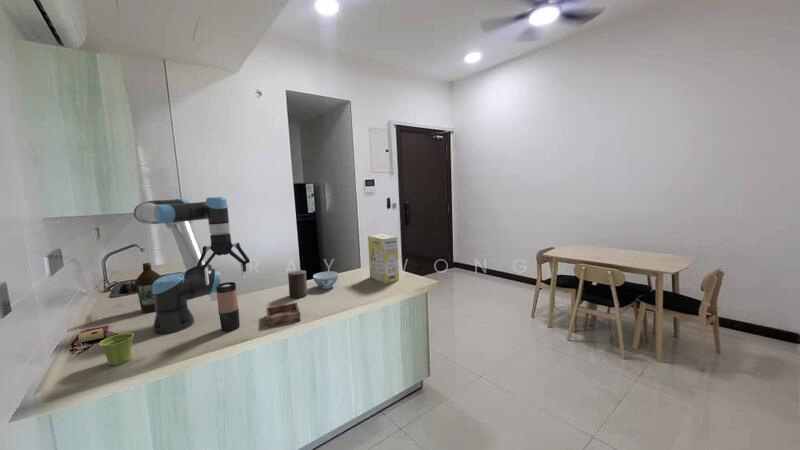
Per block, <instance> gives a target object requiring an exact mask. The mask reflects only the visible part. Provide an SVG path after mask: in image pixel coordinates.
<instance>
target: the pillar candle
mask: <svg viewBox="0 0 800 450" xmlns="http://www.w3.org/2000/svg"><path fill="white" fill-rule="evenodd" d="M287 274H288V275H287V278H288V279H287V281H288V293H289V298H290V299H295V300H296V299H301V298H305V297H307V296H308V287H307V286H308V284H307V271H306V270H303V269H302V270H299V269H297V270H292V271H289V272H288V273H287Z"/></svg>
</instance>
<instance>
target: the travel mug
mask: <svg viewBox="0 0 800 450" xmlns="http://www.w3.org/2000/svg"><path fill="white" fill-rule="evenodd" d="M216 290H217V292H216V297H217V298H216V299H217V309H218V315H219V323H220V329H221V332H224V333H230V332H234V331H236V330H238V329H239V328H240V311H239V301H238V294H237V293H238V292H237V284H236V282H234V281H233V282H232V281H228V282H221V284H219V285H218V286H217V287H216Z"/></svg>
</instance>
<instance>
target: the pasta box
mask: <svg viewBox="0 0 800 450" xmlns="http://www.w3.org/2000/svg"><path fill="white" fill-rule="evenodd" d="M367 243H368V264H369V266H368V267H369V277H370V279H373V280H375V281H377V282H381V283H382V284H383V283H384V284H385V285H386V284H389V283H393V282H397V281H399V280H400V273H399V268H400V267H399V251H398V250H399V247H398V246H399V244H398V243H399V242H398V236H396V235H388V234H385V233H378V234H372V235H371V234H370V235H367Z"/></svg>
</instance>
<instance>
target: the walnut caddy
mask: <svg viewBox="0 0 800 450" xmlns="http://www.w3.org/2000/svg"><path fill="white" fill-rule="evenodd" d="M296 322H301V312H300V307H299V305H298V302H293V303H287V304H285V303H284V304H281V305H275V306H274V305H273V306H269V307H266V324H267V328H271V327H275V326H276V327H277V326H281V325H286V324H292V323H296Z"/></svg>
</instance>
